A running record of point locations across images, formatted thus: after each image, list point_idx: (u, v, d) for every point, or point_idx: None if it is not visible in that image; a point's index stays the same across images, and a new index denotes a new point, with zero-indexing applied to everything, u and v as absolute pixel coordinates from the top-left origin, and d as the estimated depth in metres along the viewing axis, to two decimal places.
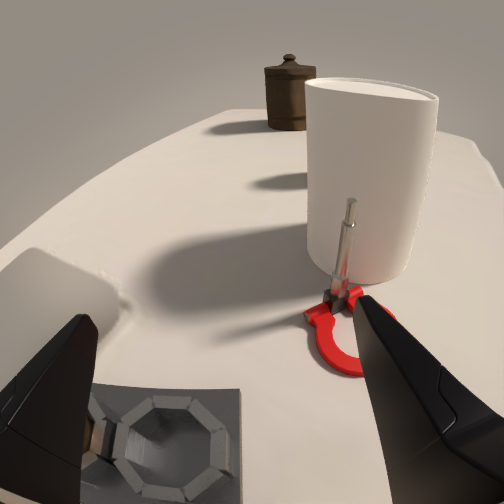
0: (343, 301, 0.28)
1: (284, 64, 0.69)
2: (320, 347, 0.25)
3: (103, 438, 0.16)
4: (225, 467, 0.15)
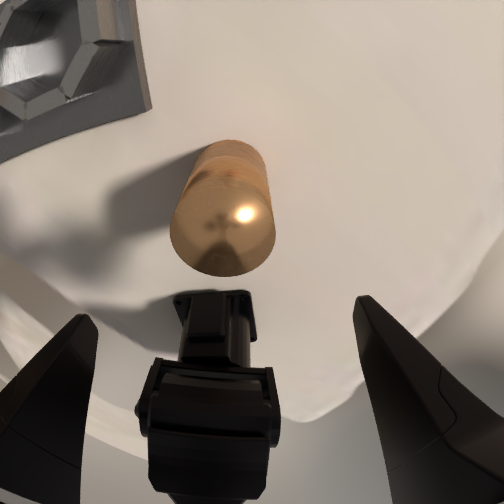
0: None
1: None
2: None
3: None
4: (100, 36, 0.09)
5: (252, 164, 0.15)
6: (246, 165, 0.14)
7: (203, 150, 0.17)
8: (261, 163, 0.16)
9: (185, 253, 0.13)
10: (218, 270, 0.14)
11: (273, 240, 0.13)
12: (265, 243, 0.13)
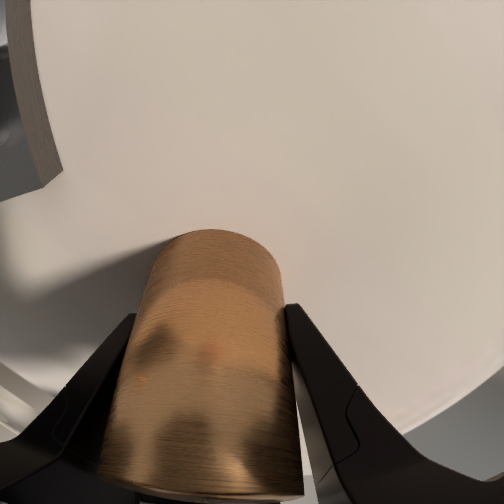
0: None
1: None
2: None
3: None
4: None
5: (258, 322, 0.07)
6: (246, 338, 0.06)
7: None
8: (275, 289, 0.08)
9: (140, 491, 0.05)
10: (200, 502, 0.06)
11: (298, 497, 0.05)
12: (282, 499, 0.05)
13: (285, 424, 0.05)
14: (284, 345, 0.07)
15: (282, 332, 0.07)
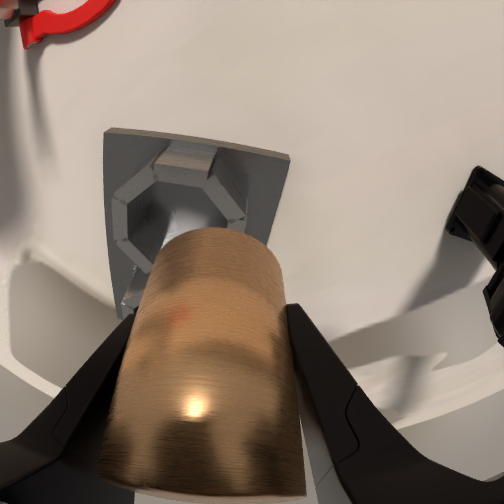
0: (24, 1, 0.09)
1: None
2: (71, 29, 0.12)
3: None
4: (205, 170, 0.15)
5: (259, 320, 0.07)
6: (247, 337, 0.06)
7: (163, 246, 0.09)
8: (276, 287, 0.08)
9: (140, 492, 0.05)
10: (201, 503, 0.06)
11: (300, 497, 0.05)
12: (284, 499, 0.05)
13: (287, 423, 0.05)
14: (285, 343, 0.07)
15: (283, 330, 0.07)
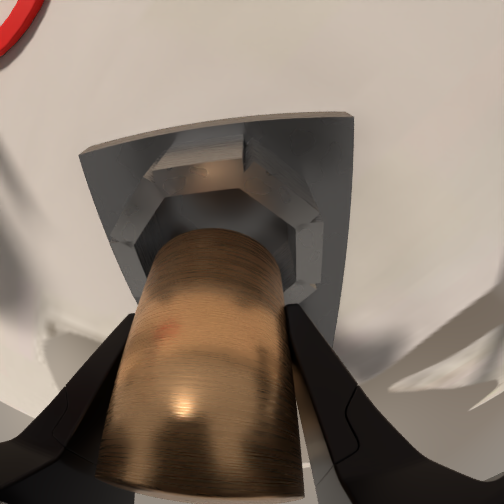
0: None
1: None
2: (4, 46, 0.07)
3: None
4: (236, 158, 0.09)
5: (258, 322, 0.07)
6: (246, 337, 0.06)
7: None
8: (275, 288, 0.08)
9: (138, 492, 0.05)
10: (199, 503, 0.06)
11: (298, 498, 0.05)
12: (281, 500, 0.05)
13: (285, 424, 0.05)
14: (284, 344, 0.07)
15: (282, 331, 0.07)
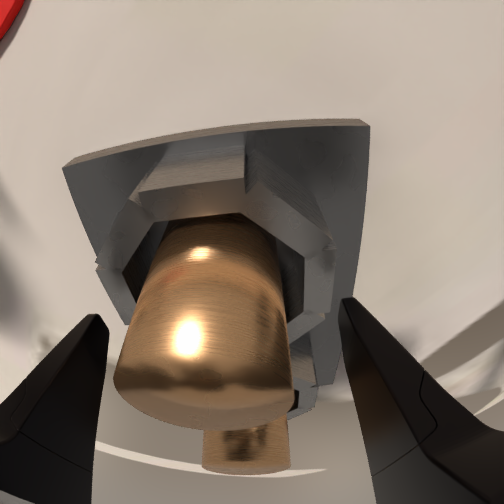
0: None
1: None
2: None
3: None
4: (237, 177, 0.08)
5: (254, 251, 0.09)
6: (244, 258, 0.08)
7: None
8: (269, 235, 0.10)
9: (148, 409, 0.07)
10: (202, 426, 0.08)
11: (289, 404, 0.07)
12: (276, 408, 0.07)
13: (275, 324, 0.07)
14: (275, 273, 0.09)
15: (274, 264, 0.09)
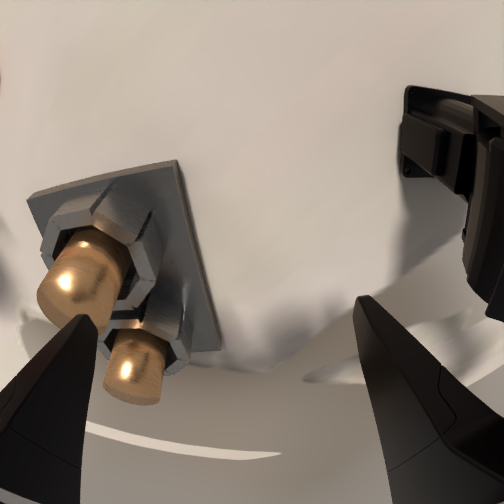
0: None
1: None
2: None
3: (121, 319, 0.20)
4: (87, 208, 0.15)
5: (101, 242, 0.16)
6: (93, 246, 0.15)
7: None
8: None
9: (54, 320, 0.14)
10: None
11: (105, 315, 0.14)
12: (100, 317, 0.14)
13: (98, 275, 0.14)
14: (113, 254, 0.16)
15: (115, 249, 0.16)
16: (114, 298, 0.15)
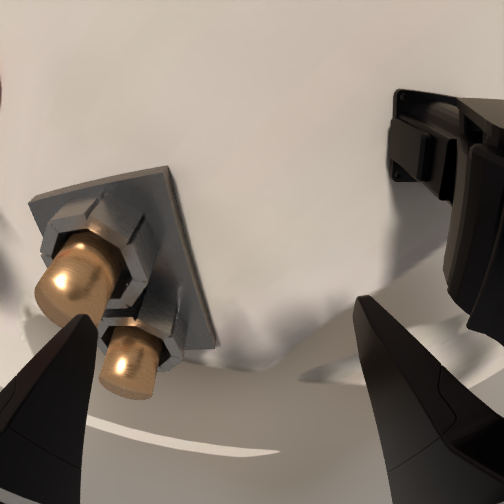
0: None
1: None
2: None
3: (117, 316, 0.21)
4: (82, 213, 0.15)
5: (95, 244, 0.17)
6: (87, 247, 0.16)
7: None
8: None
9: (51, 317, 0.15)
10: None
11: (96, 313, 0.15)
12: (92, 314, 0.15)
13: (90, 274, 0.15)
14: (106, 255, 0.17)
15: (108, 251, 0.17)
16: (106, 297, 0.16)
